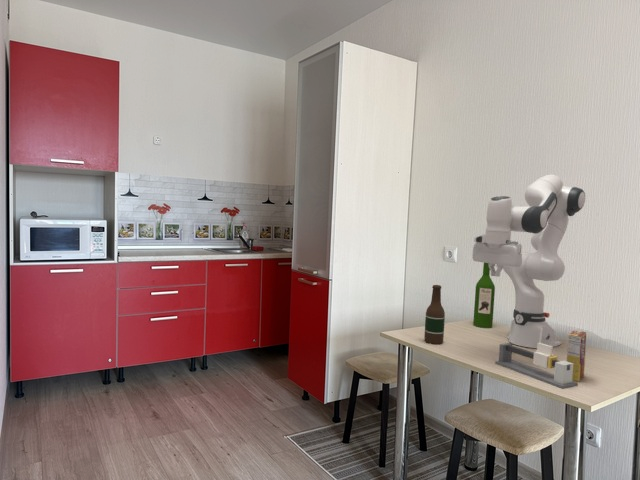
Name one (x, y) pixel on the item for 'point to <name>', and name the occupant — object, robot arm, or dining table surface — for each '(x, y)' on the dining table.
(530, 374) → the linear slide rail
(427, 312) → the beer bottle
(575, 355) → the candy box
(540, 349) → the white rectangular block
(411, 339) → the dining table surface
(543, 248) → the robot arm
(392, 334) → the dining table surface
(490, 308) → the wine bottle
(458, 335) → the dining table surface
